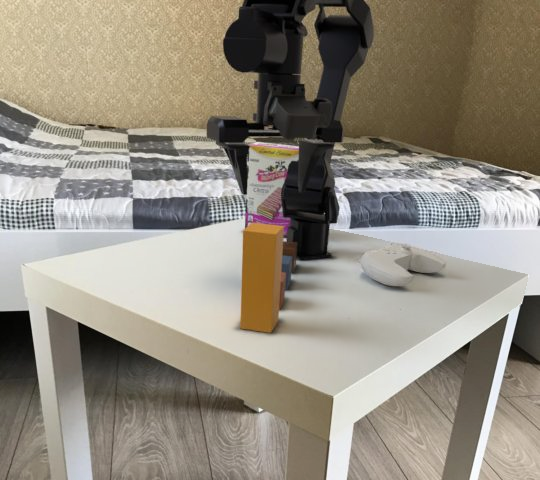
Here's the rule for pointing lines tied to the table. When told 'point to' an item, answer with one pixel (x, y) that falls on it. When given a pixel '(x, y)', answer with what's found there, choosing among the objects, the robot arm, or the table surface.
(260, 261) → the tall block
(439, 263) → the game controller
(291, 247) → the cube
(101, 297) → the table surface
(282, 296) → the cube
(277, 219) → the candy bar box
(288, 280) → the cube
